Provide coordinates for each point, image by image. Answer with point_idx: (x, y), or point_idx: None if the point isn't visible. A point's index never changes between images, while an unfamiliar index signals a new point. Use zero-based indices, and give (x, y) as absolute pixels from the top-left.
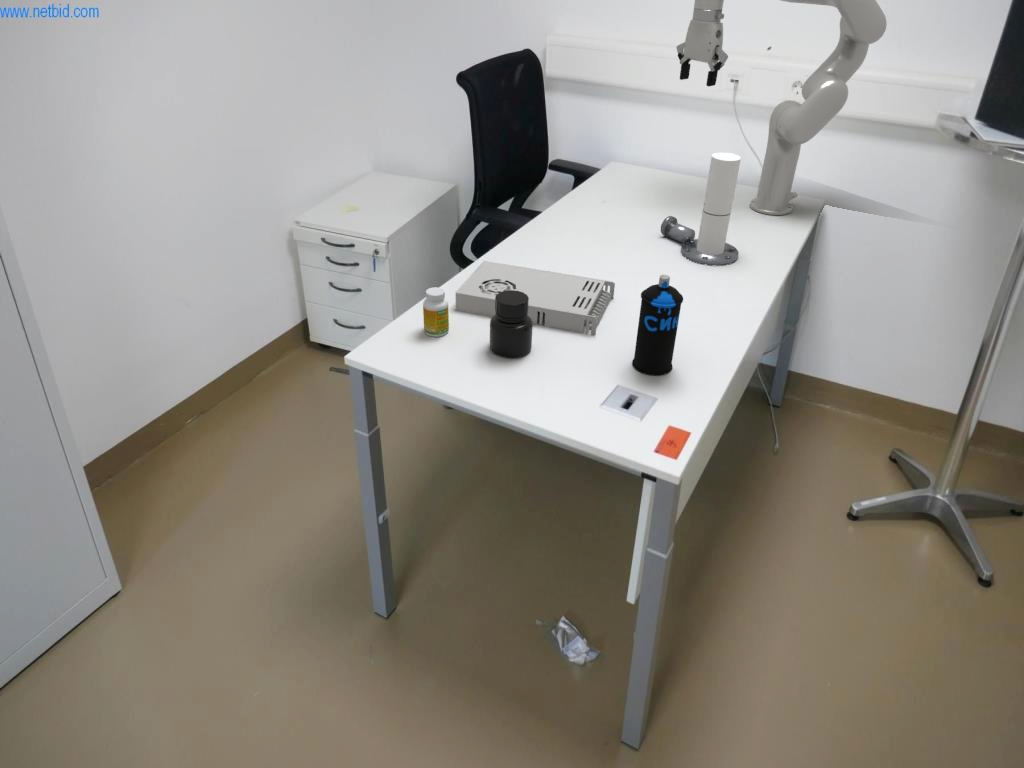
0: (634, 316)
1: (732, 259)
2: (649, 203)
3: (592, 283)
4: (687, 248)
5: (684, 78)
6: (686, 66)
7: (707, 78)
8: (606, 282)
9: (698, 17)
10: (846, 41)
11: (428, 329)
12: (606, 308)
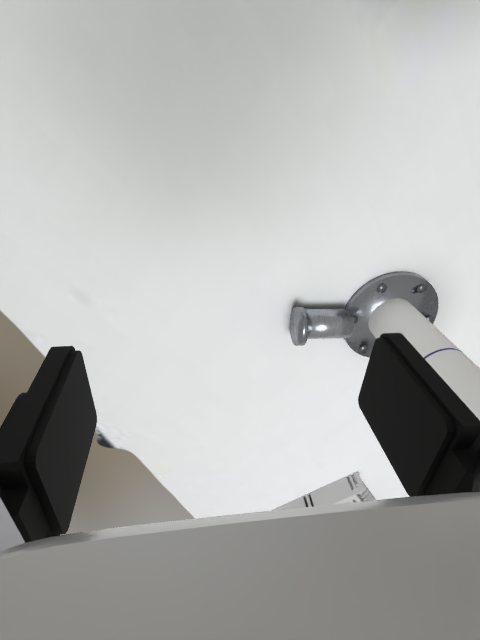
0: (394, 474)
1: (435, 317)
2: (141, 216)
3: (341, 495)
4: (362, 346)
5: (90, 397)
6: (55, 491)
7: (382, 445)
8: (356, 492)
9: None
10: None
11: None
12: (364, 484)
